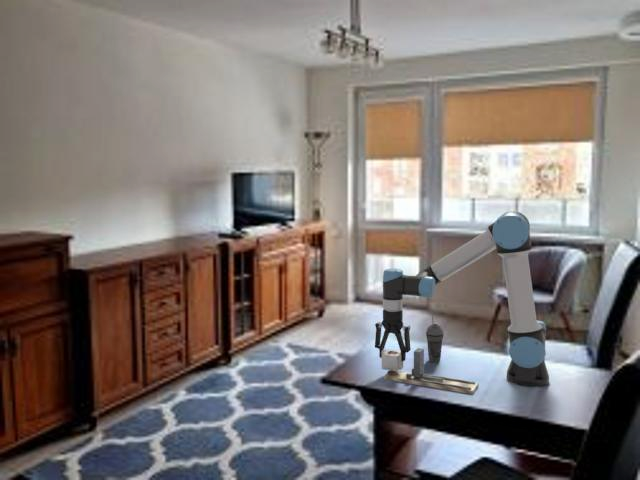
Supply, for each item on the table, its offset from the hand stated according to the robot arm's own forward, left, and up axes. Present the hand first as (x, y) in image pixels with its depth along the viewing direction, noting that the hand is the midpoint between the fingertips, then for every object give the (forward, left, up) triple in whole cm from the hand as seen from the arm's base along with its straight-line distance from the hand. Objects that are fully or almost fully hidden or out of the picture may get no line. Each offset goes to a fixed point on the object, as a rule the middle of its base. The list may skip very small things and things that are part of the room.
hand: (392, 367), depth 223 cm
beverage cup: (-9, -25, -4) cm, 27 cm away
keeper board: (-15, 0, -4) cm, 16 cm away
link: (0, 0, 0) cm, 0 cm away
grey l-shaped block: (-15, 0, -2) cm, 15 cm away
